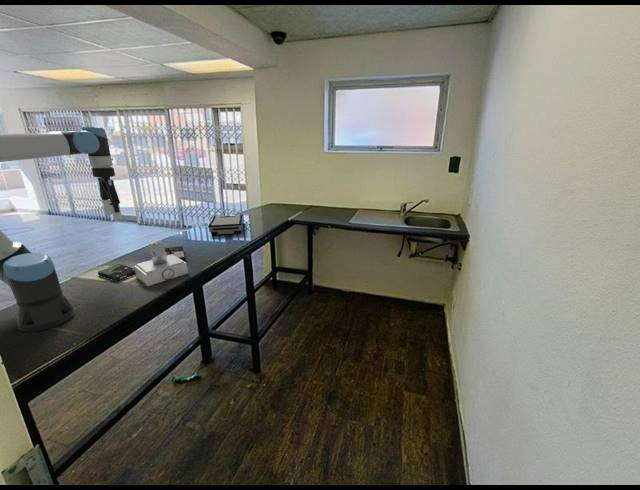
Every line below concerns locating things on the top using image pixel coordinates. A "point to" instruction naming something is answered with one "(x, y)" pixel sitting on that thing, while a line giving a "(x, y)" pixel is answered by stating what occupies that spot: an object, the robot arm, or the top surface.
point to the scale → (160, 270)
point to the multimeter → (176, 252)
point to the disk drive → (117, 272)
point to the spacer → (158, 253)
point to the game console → (226, 225)
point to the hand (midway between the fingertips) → (113, 217)
